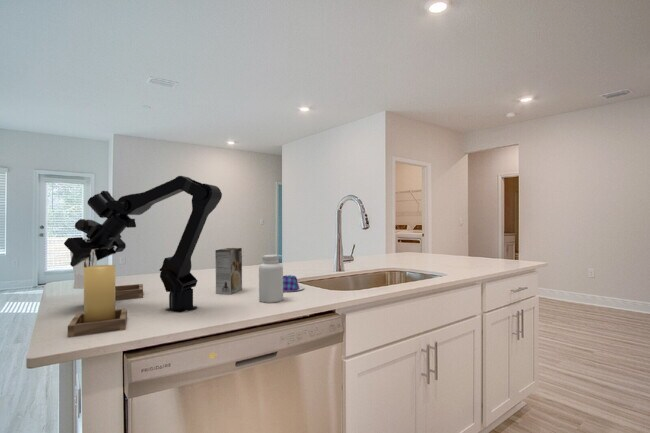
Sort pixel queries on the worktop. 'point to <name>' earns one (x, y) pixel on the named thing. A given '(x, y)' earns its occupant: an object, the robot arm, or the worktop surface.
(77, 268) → the beer glass
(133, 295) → the empty pocket
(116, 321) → the brown square tray piece
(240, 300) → the worktop surface
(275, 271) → the pill bottle
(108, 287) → the cream pillar candle
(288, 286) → the plaid hat
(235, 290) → the coffee box
